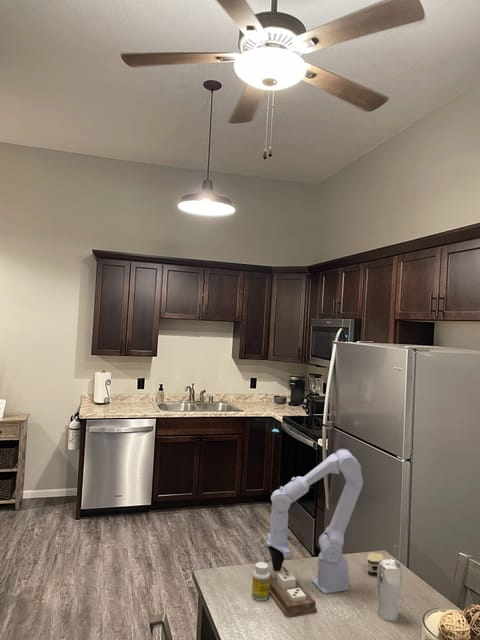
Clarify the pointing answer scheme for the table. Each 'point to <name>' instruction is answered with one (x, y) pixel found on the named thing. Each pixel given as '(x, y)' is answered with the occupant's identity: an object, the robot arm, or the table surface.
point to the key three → (295, 595)
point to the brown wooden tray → (286, 604)
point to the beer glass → (389, 588)
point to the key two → (286, 581)
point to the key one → (275, 572)
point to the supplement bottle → (261, 582)
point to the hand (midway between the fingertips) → (276, 570)
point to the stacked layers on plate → (373, 562)
